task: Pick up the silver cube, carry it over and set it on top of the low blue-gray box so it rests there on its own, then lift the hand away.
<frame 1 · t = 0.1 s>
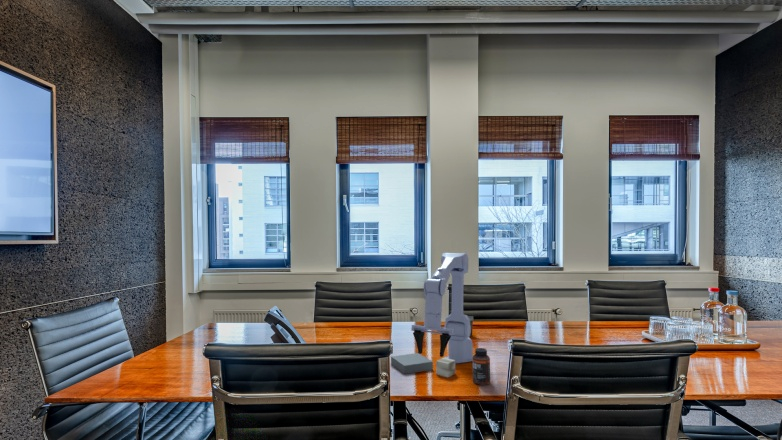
hand: (430, 354, 137), 11 cm above the table, tool pointing down, fingers open, 7 cm apart
supplement bottle: (481, 382, 141), on the table
food container: (462, 334, 207), on the table
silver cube: (445, 374, 149), on the table
blue-gray box: (411, 366, 156), on the table
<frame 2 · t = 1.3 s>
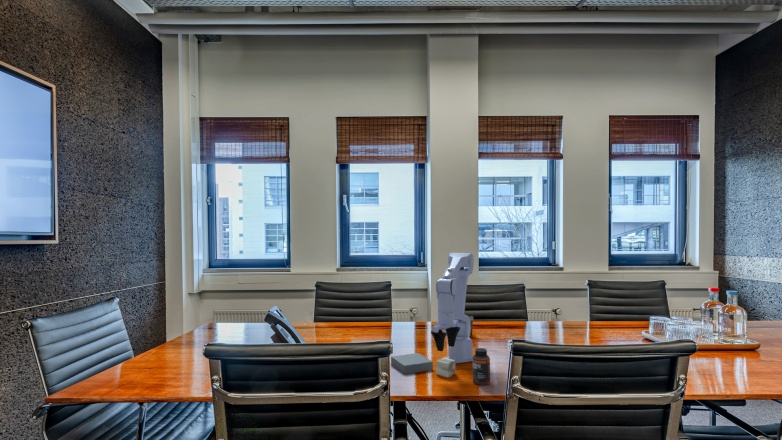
hand: (445, 348, 149), 9 cm above the table, tool pointing down, fingers open, 7 cm apart
nothing on the table moved.
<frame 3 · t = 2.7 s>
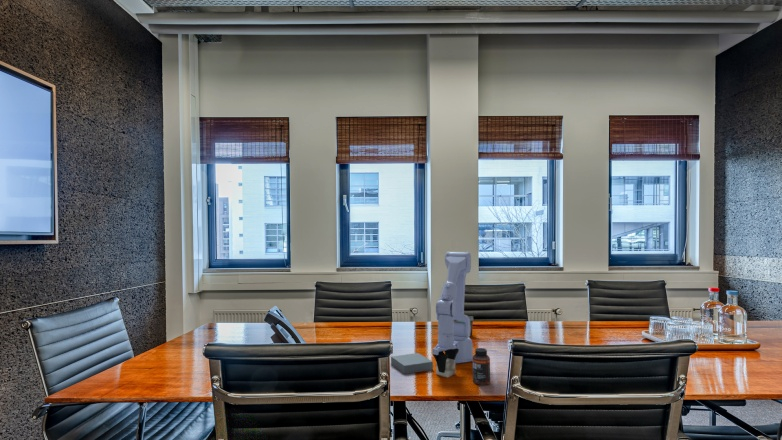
hand: (445, 370, 149), 1 cm above the table, tool pointing down, fingers closed on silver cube, 5 cm apart
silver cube: (445, 374, 149), on the table, touching gripper
everything else where it was.
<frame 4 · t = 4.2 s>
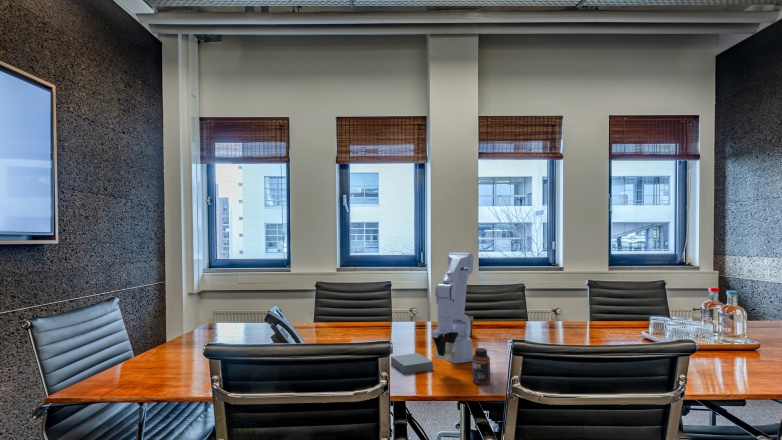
hand: (445, 353, 149), 7 cm above the table, tool pointing down, fingers closed on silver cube, 5 cm apart
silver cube: (445, 357, 149), point 6 cm above the table, touching gripper
everything else where it was.
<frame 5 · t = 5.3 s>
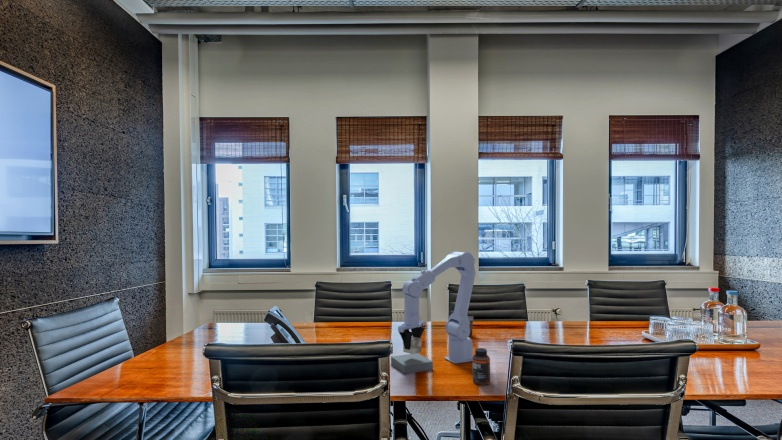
hand: (411, 347, 157), 7 cm above the table, tool pointing down, fingers closed on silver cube, 5 cm apart
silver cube: (412, 351, 156), point 6 cm above the table, touching gripper
everything else where it was.
when the fingers open (6 cm above the table, at t = 6.1 s): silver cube drops 1 cm, resting on blue-gray box.
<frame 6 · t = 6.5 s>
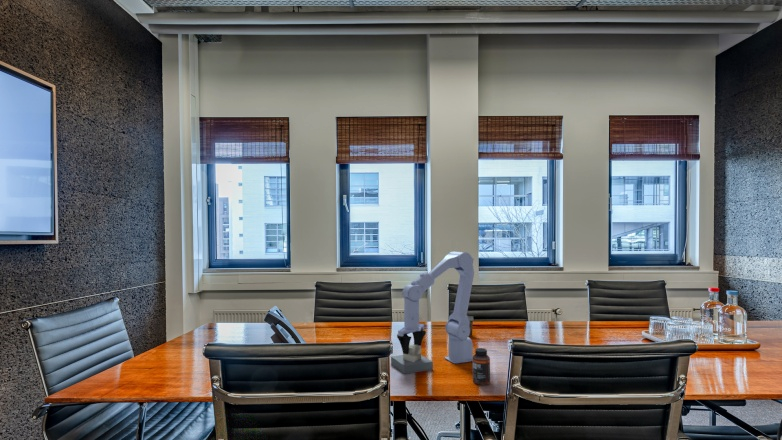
hand: (411, 351, 157), 6 cm above the table, tool pointing down, fingers open, 7 cm apart
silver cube: (412, 359, 156), point 3 cm above the table, touching blue-gray box
everything else where it was.
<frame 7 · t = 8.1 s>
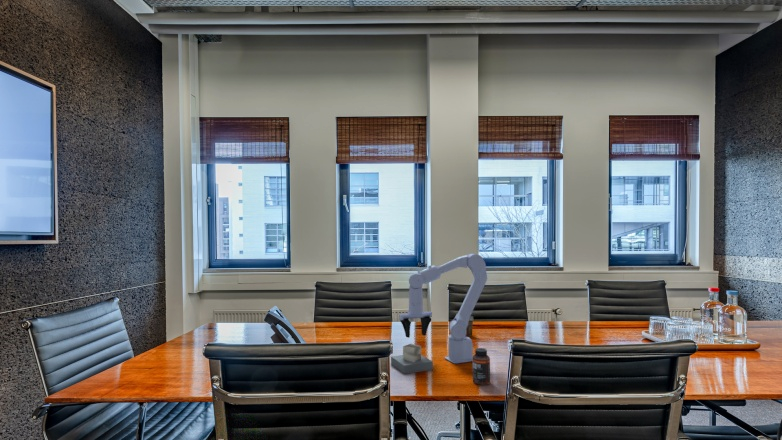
hand: (415, 335, 166), 9 cm above the table, tool pointing down, fingers open, 7 cm apart
nothing on the table moved.
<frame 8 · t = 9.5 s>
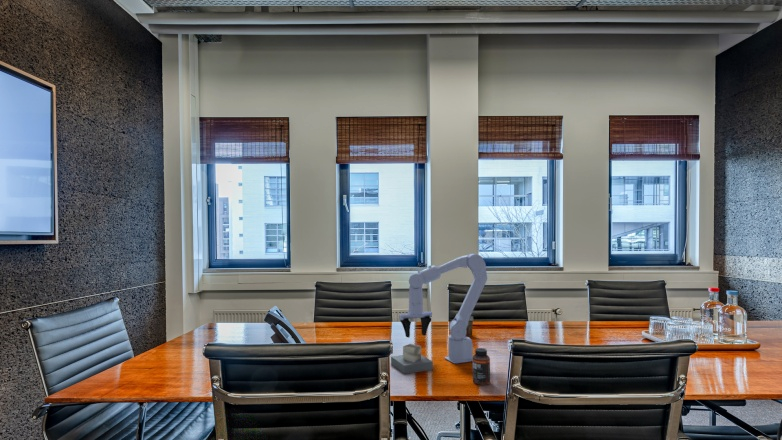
hand: (415, 335, 166), 9 cm above the table, tool pointing down, fingers open, 7 cm apart
nothing on the table moved.
at the end: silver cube inside the target area on the blue-gray box (0.3 cm from its centre), point 3.0 cm above the blue-gray box's base; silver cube tilted 0°; the gripper is holding nothing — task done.
